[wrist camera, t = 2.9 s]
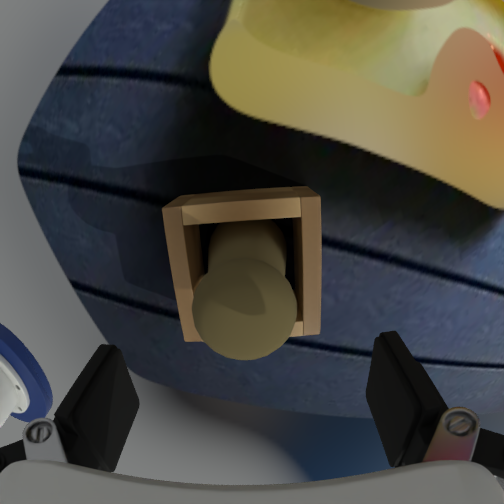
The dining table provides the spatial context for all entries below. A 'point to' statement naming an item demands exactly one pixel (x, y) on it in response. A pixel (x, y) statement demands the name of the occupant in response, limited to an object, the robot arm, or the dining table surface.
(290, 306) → the olive rounded figure
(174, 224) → the frame
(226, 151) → the dining table surface
